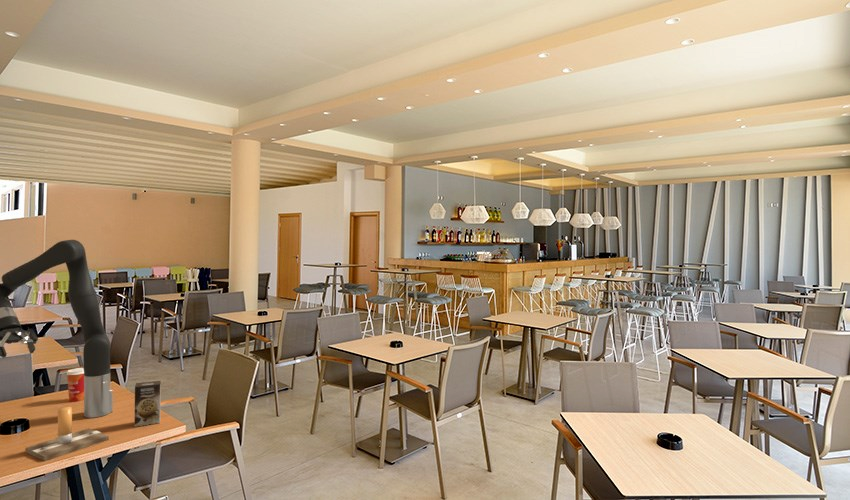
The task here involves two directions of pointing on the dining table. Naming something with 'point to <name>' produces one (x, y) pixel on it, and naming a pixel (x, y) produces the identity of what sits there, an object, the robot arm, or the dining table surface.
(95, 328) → the robot arm
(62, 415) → the tan cylinder
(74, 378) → the paper cup
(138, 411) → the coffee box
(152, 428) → the dining table surface
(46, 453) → the board
